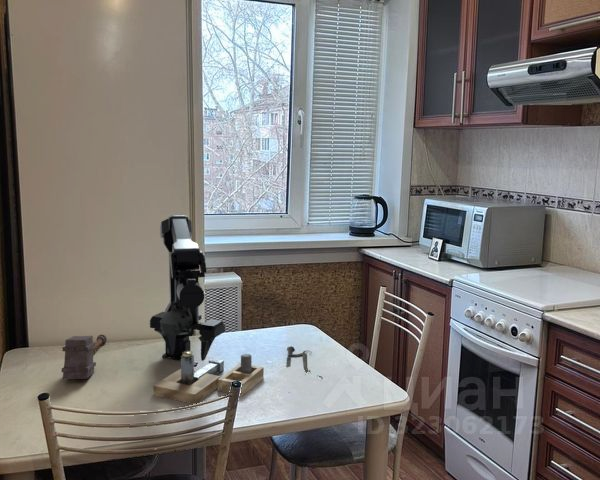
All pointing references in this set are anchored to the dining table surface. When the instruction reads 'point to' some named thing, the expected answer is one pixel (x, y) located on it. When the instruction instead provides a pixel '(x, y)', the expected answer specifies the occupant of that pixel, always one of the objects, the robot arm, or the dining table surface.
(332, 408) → the dining table surface
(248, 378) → the rack
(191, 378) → the grey metal cylinder
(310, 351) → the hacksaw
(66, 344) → the hammer
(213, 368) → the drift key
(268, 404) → the dining table surface
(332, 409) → the dining table surface
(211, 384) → the socket block
